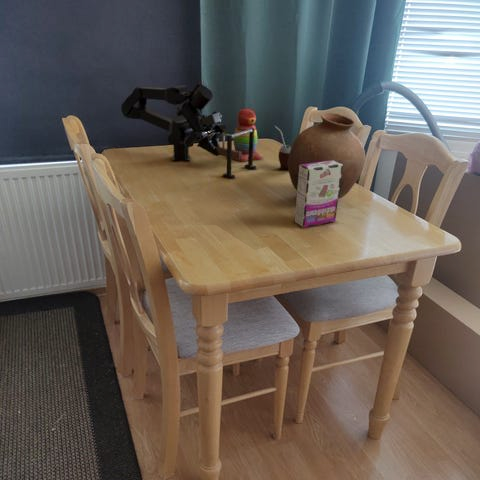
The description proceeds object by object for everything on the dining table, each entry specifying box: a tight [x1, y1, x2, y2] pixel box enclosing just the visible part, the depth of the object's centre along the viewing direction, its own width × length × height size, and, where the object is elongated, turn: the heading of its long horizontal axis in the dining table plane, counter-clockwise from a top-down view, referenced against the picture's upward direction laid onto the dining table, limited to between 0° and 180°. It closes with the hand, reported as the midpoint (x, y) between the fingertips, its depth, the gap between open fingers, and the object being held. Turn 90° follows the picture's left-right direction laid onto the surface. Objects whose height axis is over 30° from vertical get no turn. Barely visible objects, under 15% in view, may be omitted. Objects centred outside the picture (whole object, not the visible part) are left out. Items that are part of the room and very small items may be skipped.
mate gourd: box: [274, 125, 292, 171], centre depth 174 cm, size 8×8×15 cm
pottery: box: [287, 112, 366, 200], centre depth 146 cm, size 23×23×25 cm
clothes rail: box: [222, 128, 257, 180], centre depth 169 cm, size 4×16×14 cm, turn 146°
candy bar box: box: [294, 160, 343, 229], centre depth 132 cm, size 11×5×16 cm, turn 117°
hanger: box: [214, 132, 242, 160], centre depth 171 cm, size 12×2×8 cm, turn 57°
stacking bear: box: [232, 108, 263, 162], centre depth 185 cm, size 11×10×18 cm
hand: (219, 155), depth 174 cm, fingers closed on hanger, 2 cm apart
